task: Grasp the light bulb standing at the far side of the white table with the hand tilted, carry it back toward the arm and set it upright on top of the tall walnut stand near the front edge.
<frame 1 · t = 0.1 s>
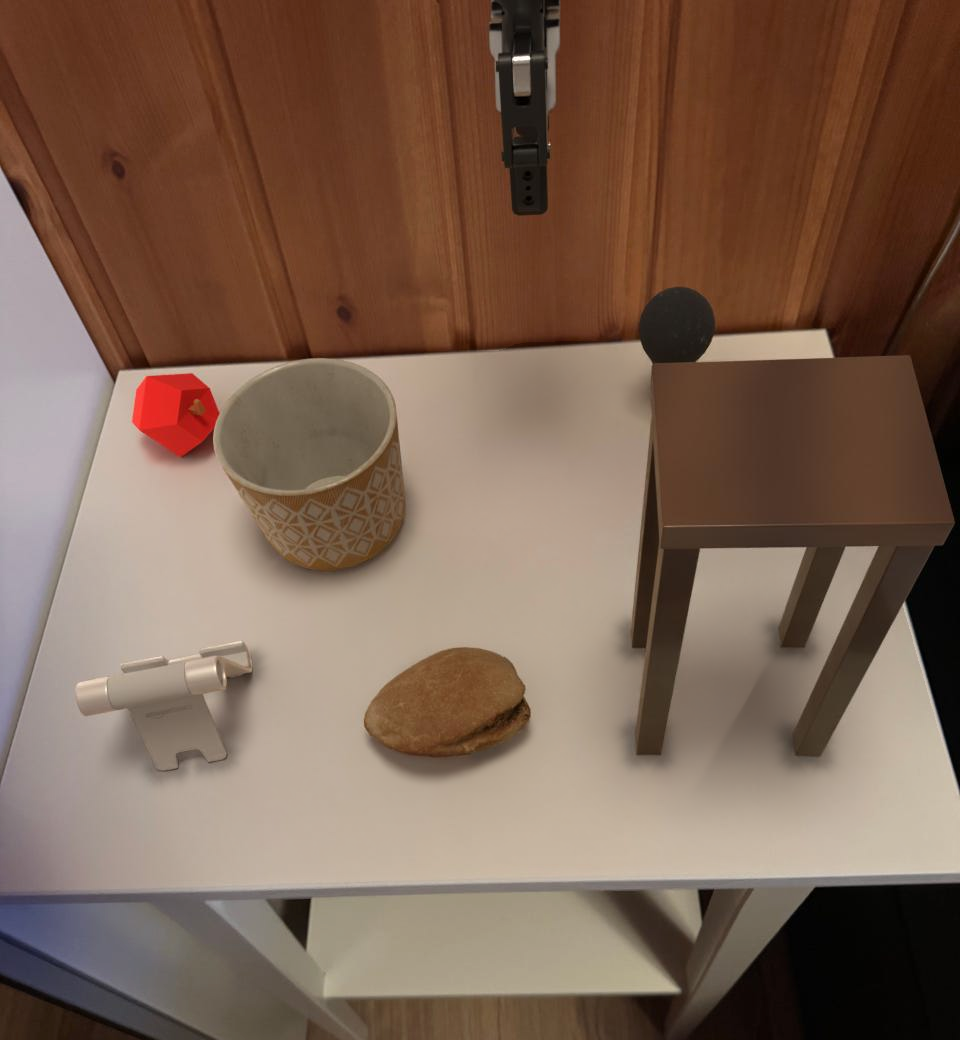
hand: (531, 170, 61), 20 cm above the table, tool pointing down, fingers open, 8 cm apart
planter: (337, 519, 73), on the table
stone: (451, 716, 64), on the table
light bulb: (668, 398, 77), on the table
walnut stand: (792, 436, 42), on the table
tablet stand: (193, 715, 65), on the table
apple: (188, 438, 79), on the table
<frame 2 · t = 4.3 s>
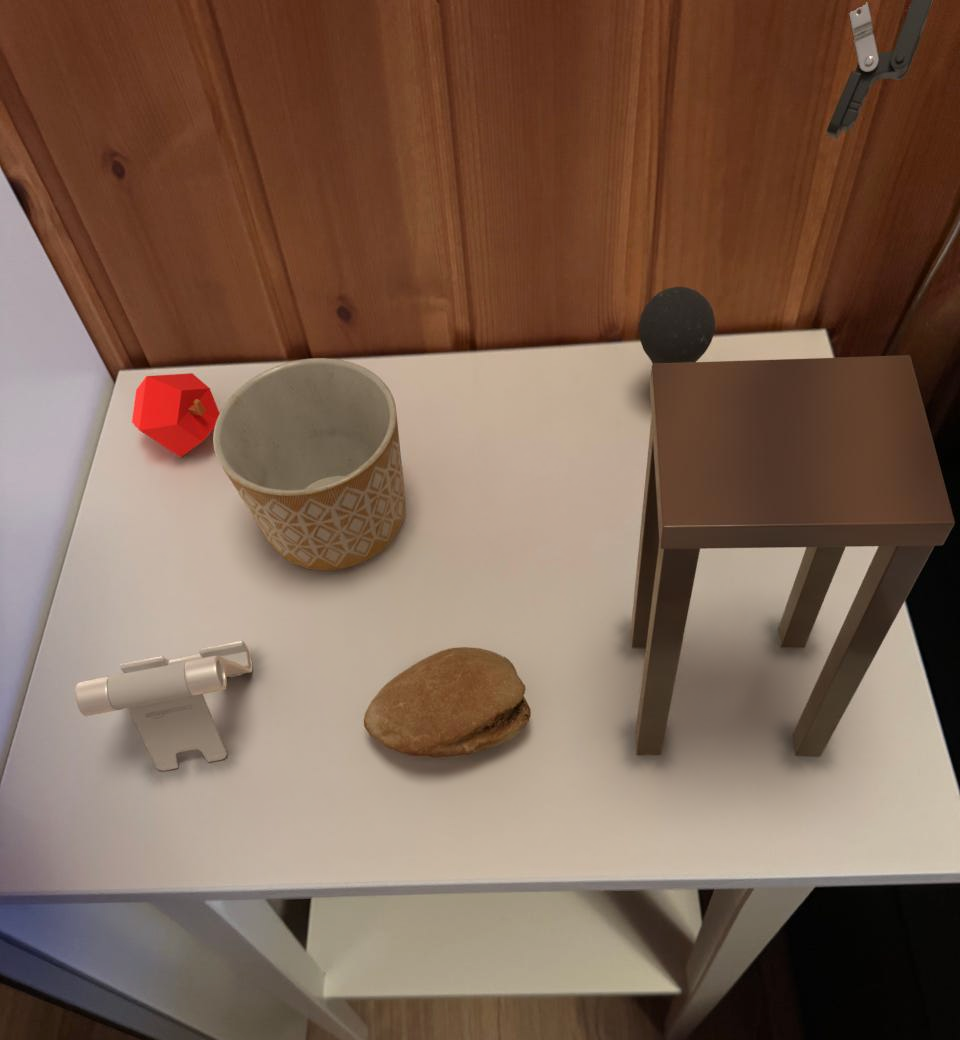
hand: (773, 117, 66), 17 cm above the table, tool tilted 45°, fingers open, 8 cm apart
nothing on the table moved.
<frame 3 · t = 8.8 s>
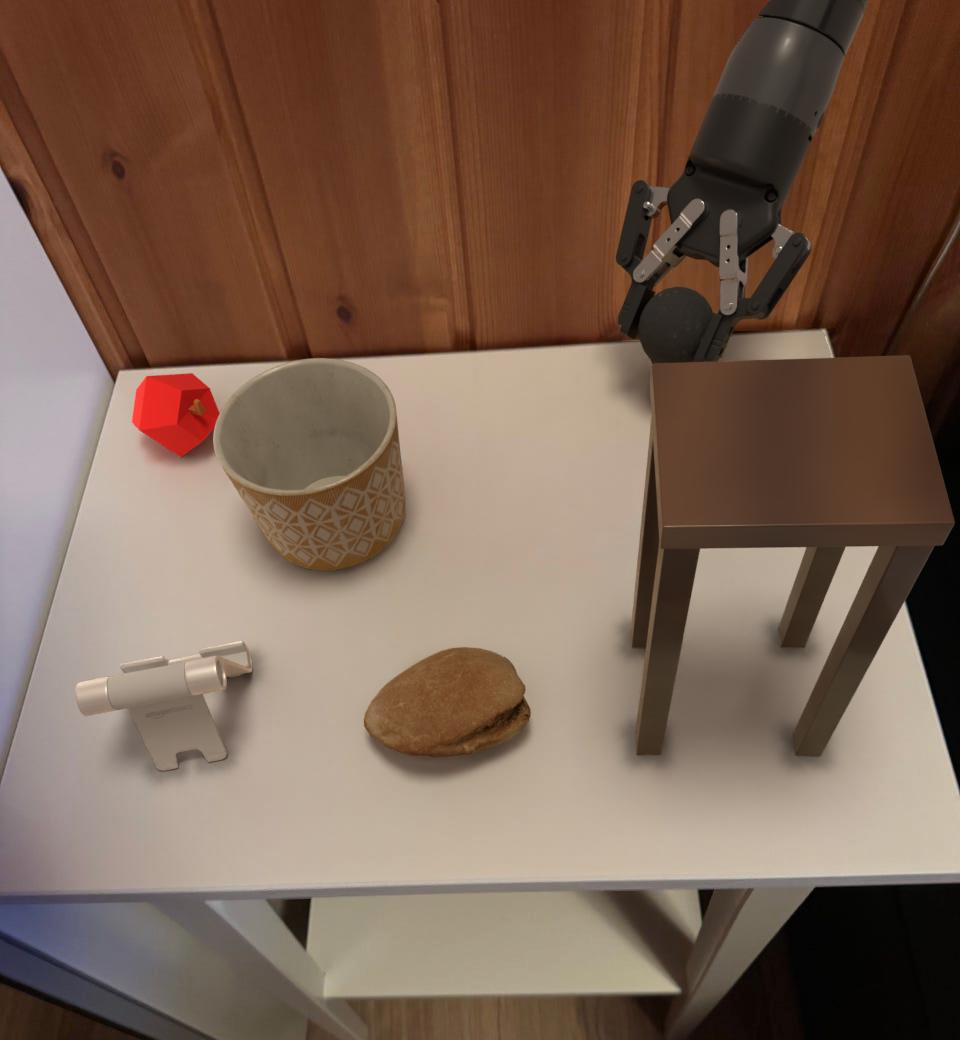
hand: (663, 350, 71), 6 cm above the table, tool tilted 45°, fingers closed on light bulb, 5 cm apart
light bulb: (668, 398, 77), on the table, touching gripper
everything else where it was.
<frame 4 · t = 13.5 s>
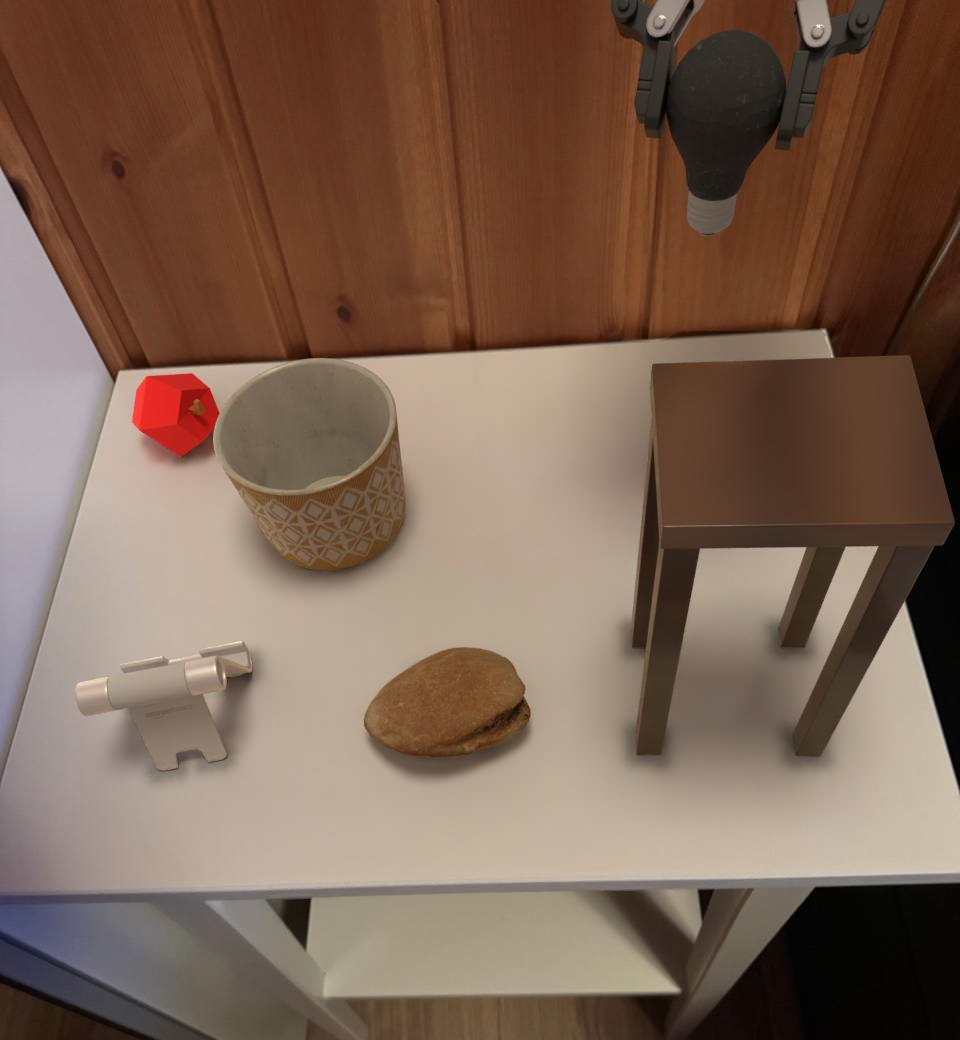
hand: (717, 138, 45), 29 cm above the table, tool tilted 45°, fingers closed on light bulb, 5 cm apart
light bulb: (707, 235, 52), point 23 cm above the table, touching gripper
everything else where it was.
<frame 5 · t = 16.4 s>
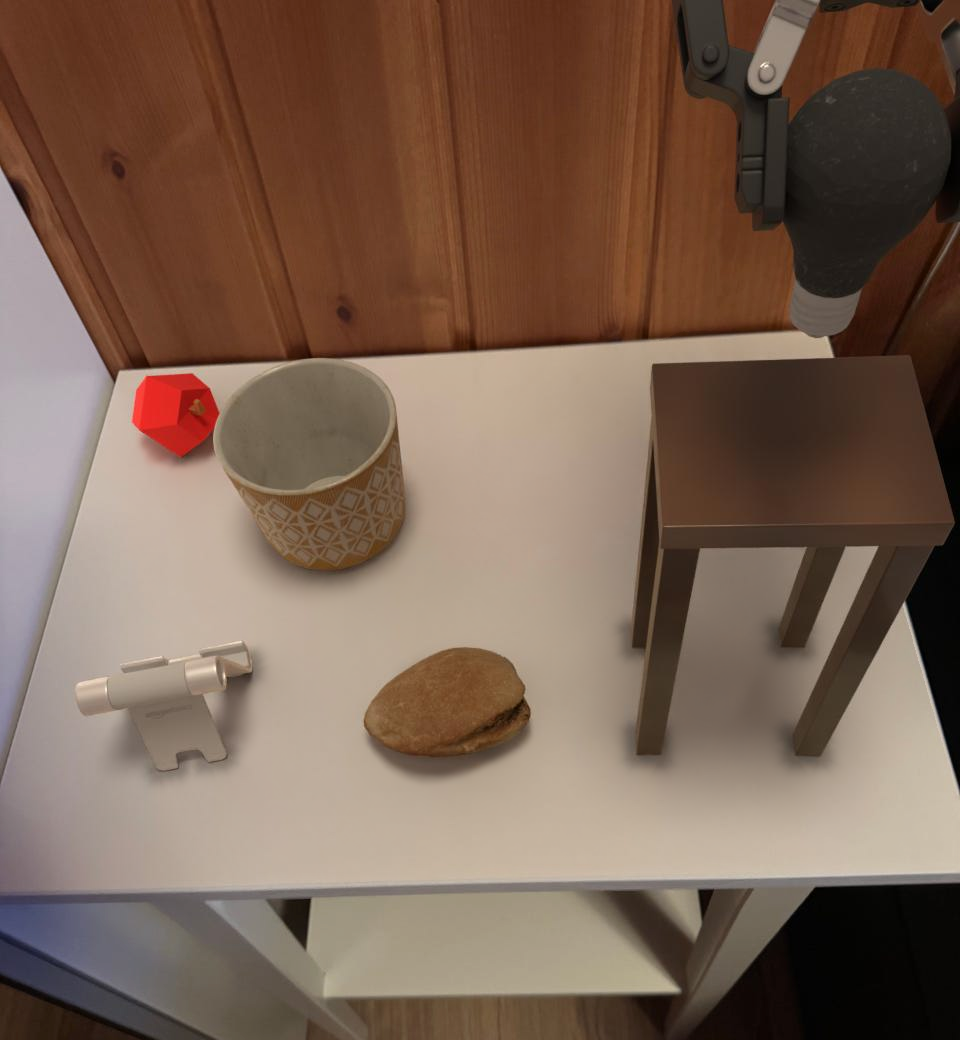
hand: (861, 220, 32), 35 cm above the table, tool tilted 45°, fingers closed on light bulb, 5 cm apart
light bulb: (815, 334, 38), point 29 cm above the table, touching gripper
everything else where it was.
when the fingers open (30 cm above the table, at t = 18.4 s): light bulb stays where it is, resting on walnut stand.
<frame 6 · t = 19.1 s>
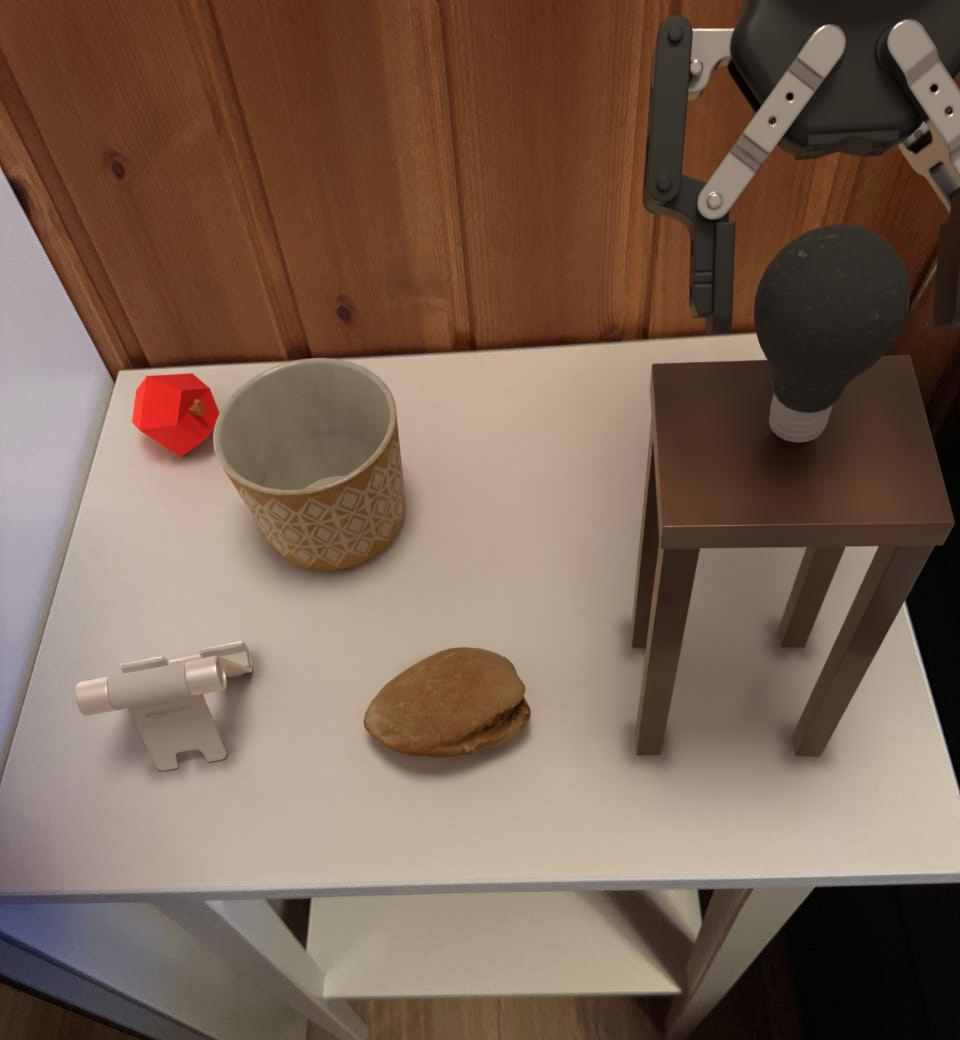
hand: (834, 328, 35), 31 cm above the table, tool tilted 45°, fingers open, 8 cm apart
light bulb: (792, 437, 42), point 24 cm above the table, touching walnut stand
everything else where it was.
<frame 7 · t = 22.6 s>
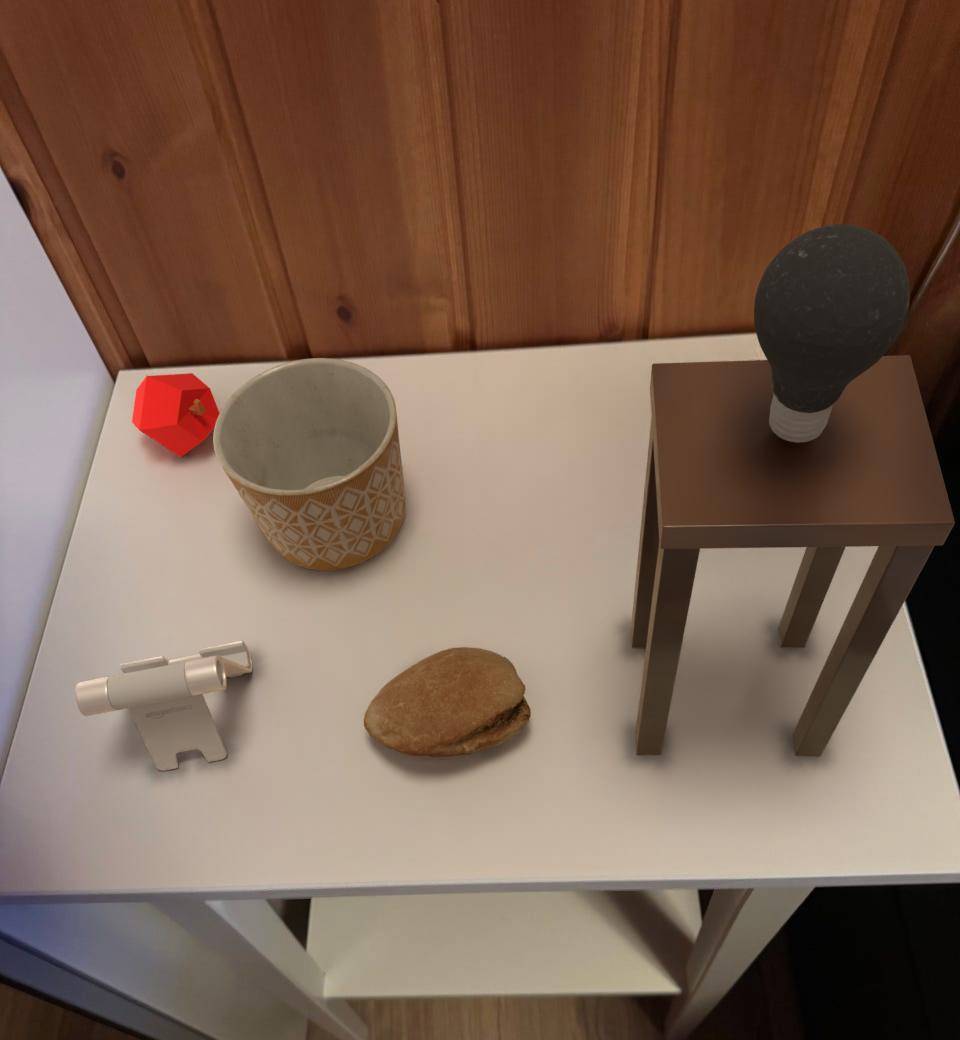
nothing on the table moved.
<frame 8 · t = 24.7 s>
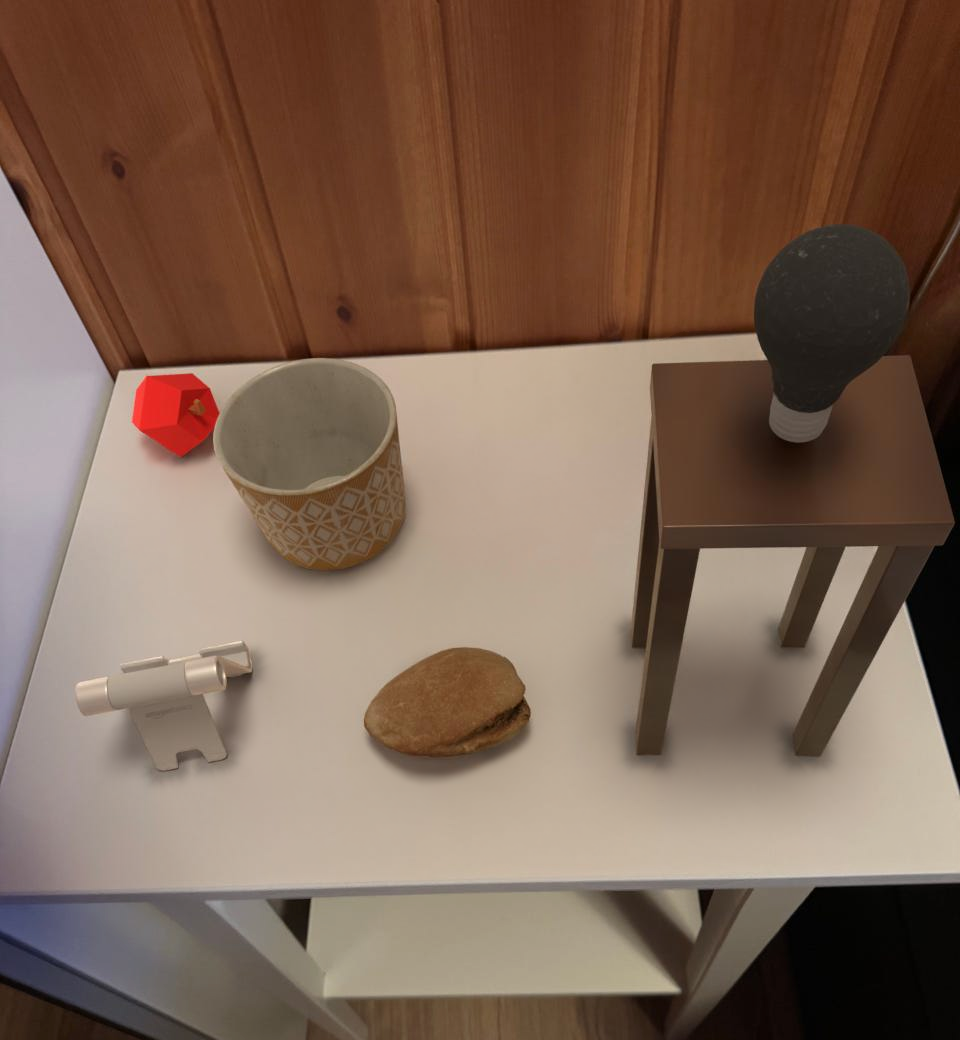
nothing on the table moved.
at the end: light bulb inside the target area on the walnut stand (0.1 cm from its centre), point 0.0 cm above the walnut stand's base; light bulb tilted 0°; the gripper is holding nothing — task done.
